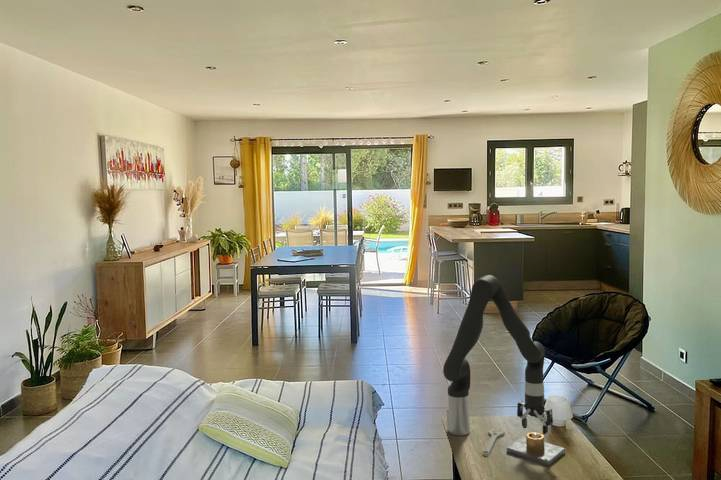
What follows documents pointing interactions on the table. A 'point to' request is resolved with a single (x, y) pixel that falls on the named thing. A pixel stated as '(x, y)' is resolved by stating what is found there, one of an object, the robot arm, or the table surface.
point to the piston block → (543, 457)
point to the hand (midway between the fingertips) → (534, 430)
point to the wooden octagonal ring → (535, 442)
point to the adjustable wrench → (492, 440)
